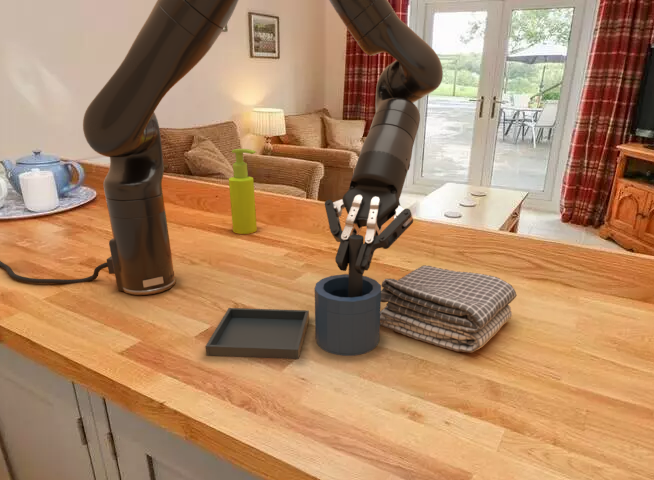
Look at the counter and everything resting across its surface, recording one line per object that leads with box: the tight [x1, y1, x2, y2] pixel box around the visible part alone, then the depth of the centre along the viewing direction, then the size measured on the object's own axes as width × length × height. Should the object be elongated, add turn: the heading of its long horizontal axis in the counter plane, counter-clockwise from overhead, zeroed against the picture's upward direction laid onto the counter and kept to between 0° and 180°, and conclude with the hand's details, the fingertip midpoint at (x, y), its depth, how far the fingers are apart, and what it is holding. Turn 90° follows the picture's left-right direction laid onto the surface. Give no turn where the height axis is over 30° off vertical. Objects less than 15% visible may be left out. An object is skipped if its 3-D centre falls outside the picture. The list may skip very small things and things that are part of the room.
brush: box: [348, 234, 365, 298], centre depth 70 cm, size 4×4×15 cm
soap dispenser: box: [228, 148, 258, 235], centre depth 119 cm, size 6×7×20 cm
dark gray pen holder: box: [314, 273, 382, 357], centre depth 72 cm, size 9×9×9 cm
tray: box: [205, 307, 310, 360], centre depth 74 cm, size 13×12×2 cm
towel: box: [380, 265, 517, 353], centre depth 78 cm, size 15×18×8 cm
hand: (350, 269), depth 67 cm, fingers closed on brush, 2 cm apart
